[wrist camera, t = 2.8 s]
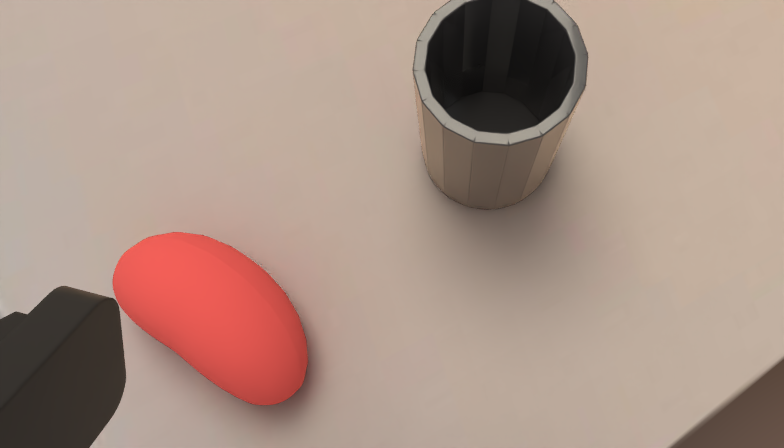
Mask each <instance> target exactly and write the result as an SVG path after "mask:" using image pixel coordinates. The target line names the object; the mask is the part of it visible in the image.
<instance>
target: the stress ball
mask: <svg viewBox="0 0 784 448" xmlns="http://www.w3.org/2000/svg"><path fill="white" fill-rule="evenodd" d="M113 290H114V293H115V296H116V299H117V301H118V303H119V305H120V306H121V308H122V309H123V310H124V311H125V313H126V314H127V315H128V316H129V317H130V318H131V319H132V320H133V321H134V322H135V323H136V324H137V325H138V326H139V327H141V328H142V329H143V330H144V331H146V332H147V333H148V334H150V335H151V336H153V337H154V338H155V339H157V340H158V341H160V342H161V343H163V344H164V345H166V346H167V347H169V348H170V349H172V350H173V351H175V352H176V353H177V354H179V355H180V356H181V357H182V358H183V359H184V360H185V361H187V362H188V363H189V364H190V365H191V366H192V367H194V368H195V369H196V370H197V371H198V372H200V373H201V374H202V375H204V376H205V377H206V378H207V379H209V380H210V381H212V382H213V383H214V384H216V385H217V386H219V387H220V388H222V389H223V390H225V391H227V392H229V393H230V394H232V395H234V396H235V397H237V398H239V399H242V400H244V401H246V402H248V403H251V404H255V405H273V404H277V403H280V402H283V401H285V400H286V399H288V398H289V397H291V396H292V395H293V394H294V393H295V392H296V391H297V390H298V389H299V388H300V387H301V386H302V384H303V382H304V378H305V373H306V368H307V363H308V358H307V344H306V337H305V334H304V331H303V328H302V325H301V322H300V319H299V316H298V314H297V312H296V310H295V309H294V307H293V305H292V304H291V302H290V300H289V298H288V297H287V295H286V293H285V292H284V291H283V290H282V289H281V288H280V286H279V285H278V284H277V283H276V282H275V281H274V280H273V279H272V278H271V276H270V275H269V274H268V273H267V272H266V271H265V270H263V269H262V268H261V267H260V266H259V265H257V264H256V263H255V262H253V261H252V260H251V259H249V258H248V257H247V256H245V255H244V254H242V253H241V252H239V251H238V250H236V249H234V248H233V247H231V246H229V245H226V244H224V243H222V242H219V241H217V240H214V239H212V238H210V237H207V236H203V235H197V234H190V233H182V232H173V233H167V234H162V235H156V236H151V237H148V238H146V239H144V240H142V241H141V242H139V243H138V244H136V245H134V246H133V247H131V248H130V249H129V250H127V251H126V252H125V253H124V254H123V255H122V257H121V258H120V260H119V261H118V264H117V266H116V268H115V271H114V275H113Z"/></svg>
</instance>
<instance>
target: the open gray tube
mask: <svg viewBox="0 0 784 448" xmlns="http://www.w3.org/2000/svg"><path fill="white" fill-rule="evenodd" d="M587 67H588V52H587V50H586V47H585V44H584V41H583V39H582V36H581V33H580V30H579V28H578V25H577V24H576V23H575V22H574V21H573V19H572V18H571V17H570V16H569V15H568V14H567V13H566V12H565V11H564V10H563V9H562V8H561V7H560V6H559V5H558V4H557V3H556V2H554V0H450V1H449V2H447V3H446V4H445V5H443V6H442V7H441V8H439V9H438V10H437V11H435V12H434V14H432V16H431V17H430V19H429V21H428V22H427V24H426V26H425V27H424V29H423V31H422V32H421V34H420V35H419V37H418V39H417V42H416V48H415V56H414V63H413V79H414V88H415V96H416V105H417V113H418V122H419V130H420V139H421V148H422V153H423V156H424V161H425V165H426V168H427V170H428V173H429V175H430V176H431V178H432V180H433V181H434V183H435V184H436V186H437V187H438V188H439V189H440V190H441V191H442V192H443V193H444V194H446V195H447V196H448V197H449V198H451V199H453V200H454V201H456V202H458V203H460V204H463V205H465V206H469V207H472V208H477V209H499V208H503V207H507V206H510V205H513V204H515V203H517V202H519V201H521V200H523V199H524V198H526V197H527V196H529V195H530V194H531V193H532V192H533V191H534V190H535V189H536V188H537V187H538V186H539V185H540V184H541V182H542V180H543V179H544V177H545V175H546V173H547V171H548V170H549V168H550V166H551V164H552V162H553V160H554V158H555V155H556V153H557V151H558V149H559V146H560V144H561V142H562V139H563V137H564V135H565V133H566V130H567V128H568V126H569V124H570V121H571V119H572V117H573V115H574V112H575V110H576V108H577V106H578V103H579V101H580V99H581V97H582V94H583V92H584V90H585V87H586V80H587Z"/></svg>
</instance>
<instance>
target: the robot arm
mask: <svg viewBox="0 0 784 448" xmlns="http://www.w3.org/2000/svg"><path fill="white" fill-rule="evenodd" d="M125 382H126V369H125V359H124V350H123V340H122V330H121V320H120V311H119V306H118V303H117V302H116V300H115V299H113V298H109V297H106V296H102V295H98V294H94V293H90V292H86V291H83V290H79V289H75V288H71V287H67V286H61V287H58V288H56V289H54V290H53V291H52V292H51V293H49V294H48V295H47V296H46V297H45V298H44V299H43V300H42V301H41V302H40V303H39V304H38V305H37V306H36V307H35V308H34V309H33V310H32V311H31V312H30V313H29V314H28V315H27V314H23V313H20V312H14V313H12V314H10V315H8V316H6V317H4V318H2V319H0V448H89V447H90V446H91V445H92V443H93V442H94V441H95V439H96V438H97V437H98V435H99V434H100V432H101V431H102V430H103V428H104V427H105V426H106V424H107V423H108V422H109V420H110V419H111V418H112V416H113V415H114V413H115V411H116V409H117V407H118V405H119V403H120V400H121V398H122V395H123V392H124V387H125Z"/></svg>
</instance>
